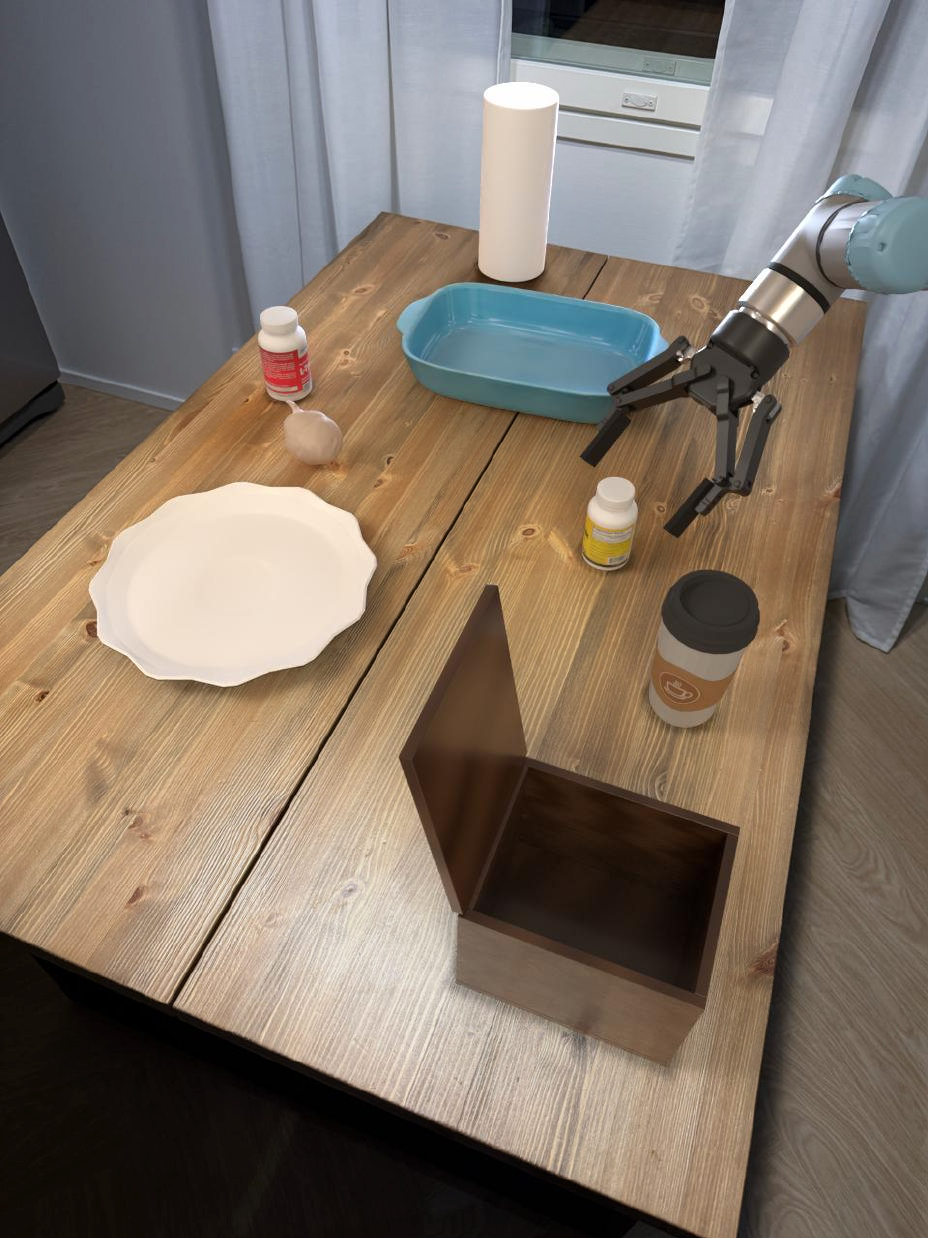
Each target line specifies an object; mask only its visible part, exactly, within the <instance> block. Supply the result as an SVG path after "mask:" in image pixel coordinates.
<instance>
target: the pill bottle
mask: <svg viewBox="0 0 928 1238" xmlns="http://www.w3.org/2000/svg"><path fill="white" fill-rule="evenodd" d="M259 321H260V327H261V329H260V330H259V332H258V335H257V343H258V350H259V354H260V360H261V366H262V372H263V377H264V382H265V388H266V392H267V394H268V395H269V396H270V397H271V398H272V399H274V400H277V401H280V402H288V401H287V400H290V401H293V402H295V401H299V400H302V399H304V398H306V397H307V396H308V395H309V394H310V393H311V391H312V389H313V379H312V372H311V371H312V370H311V365H310V364H311V363H310V357H309V348H308V342H307V335H306V332H305V330H304V329H303V327H301V325H299V317H298V313H297V311H296V310H295V309H293V308H292V307H290V306H283V305H277V306H271V307H268V308H265V309H264V310H263V311H261V313H260V315H259Z"/></svg>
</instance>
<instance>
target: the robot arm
mask: <svg viewBox="0 0 928 1238" xmlns="http://www.w3.org/2000/svg"><path fill="white" fill-rule="evenodd" d="M846 290H859V291H864V292H873V293H875V294H876V295H882V296H888V295H889V296H890V295H907V294H912V293H914V294H915V293H918V292H928V197H925V196H923V195H912V196H904V195H899V196H893V194H892V193H891V192H890V191H889V190H888V189H886V188H885V187H884V186H883V185H882V184H880V183H878V182H877V181H875V180H873V179H872V178H869V177H863V176H861V175H859V174H857V173H847V174H845V175H843V176H840V177H839V178H838V179H837V180H836V181H835V182H834V183H833V184H832V185H831V186H830V187H829V188H828V189H827V191H826V192H825V193H824V194H823V195H822V196H820V197H819V198H818V199H817V200H816V201H815V202H814V205H812V207H811V209H810V211H809V212H808V213H807V215H806V216H805V217H804V218H803V220H802V221H801V222H800V224H799V225H798V226H797V228H796V229H794V231H793V232H792V234H791V235H790V236H789V237H788V239H787V240H786V241H785V242H784V244H783V245H782V246H781V247H780V249H779V250H778V251H777V252H776V254H775V255H774V257H773V258H772V259H771V260H770V261H769V263H768V264H767V265H766V267H765V268H764V269H763V270H762V271H761V273H760V274H759V275H758V276H757V278H756V279H755V280H754V281H753V282H752V284H751V285H750V286H749V287H748V288H747V290H746V291H745V292H744V293H743V295H742V296H741V297H740V298H739V299H738V300H737V305H738V309H739V310H738V309H733V310H730V311H729V312H728V314H727V315H725V317H724V318H723V320H722V321H721V323H720V324H718V326H717V328H716V329H715V330H714V331H713V332H712V333H711V335H710V338H709V340H708V342H707V344H706V345H705V346H704V347H702V348H701V349H699V350H698V349H697V348H696V347H695V346H694V344H693V343H691V341H690V340H689V339H688V338H687V336H685V335H679V336H678V337H676V338H675V340H673V342H672V343H671V344H669V347H668V348H667V349H666V350H665V351H663V352H662V353H660V354H658V355H657V356H655V357H654V358H652V359H650V360H649V361H647V362H645V363H644V364H642V365H640V366H639V367H637V368H635V369H634V370H632V371H630V372H629V373H627V374H625V375H624V376H622V377H620V378H619V379H617V380H615V381H614V382H612V383H610V384H609V385H608V387H607V392H608V393H609V394H610V396H611V398H612V400H613V405H612V407H611V408H610V410H609V411H608V412H607V413H606V415H605V416H604V418H602V420H601V421H600V422H599V423H597V425H596V428H595V430H596V431H597V434H596V435H595V436H594V437H593V438H592V440H591V441H590V442H589V444H588V445H587V446H586V447H585V449H584V450H583V451H582V453H580V455H579V457H578V458H580V459H581V460H582V461H584V462H585V463H586V464H588V465H590V467H592V468H593V469H595V468H596V467H598V464H599V463H601V461H602V460H603V459H604V457H605V456H606V455H607V454H608V452H609V451H610V450H611V449H612V447H613V446H614V445H615V444H616V442H617V441H618V440H619V438H620V437H621V436H622V435H623V434H624V432H625V431H626V429H627V428H628V427H629V426H630V424H632V422H633V420H632V419H631V417H632V414H633V413H637V412H640V411H643V410H645V409H649V408H652V407H655V406H659V405H662V404H665V403H668V402H671V401H674V400H677V399H680V398H682V399H683V398H684V399H686V398H691V399H692V400H693V401H694V402H696V403H697V404H698V405H700V406H703V407H704V408H705V409H707V410H708V411H709V412H710V413H711V414H712V415H713V416H715V418H716V422H717V423H716V438H715V453H714V454H715V455H714V470H713V471H714V475H713V477H711V480H710V479H709V478H707V477H704V478H703V479H702V481H701V482H699V484H698V485H697V486H696V488H695V489H694V490H693V491H692V492H691V494H690V495H689V496H688V497H687V498H686V499H685V501H684V502H683V503H682V504H681V506H680V507H678V509H677V510H676V512H675V513H674V514H673V515H672V516H671V517H670V519H669V520H668V521H667V522H666V523H665V524H664V526H663V527H662V529H663V530H664V531H665V532H667V533H668V534H670V535H671V536H673V537H675V538H676V539H679V538H680V537H681V536H682V535H683V534H684V533H685V532H686V530H687V529H688V528H689V527H690V525H691V524H692V523H693V522H694V521H695V519H696V518H697V517H698V516H699V515H700V516H702V517H703V518H704V517H706V516H708V515H709V514H710V513H712V511H713V510H714V509H715V508H716V506H717V505H718V504H719V503H720V502H721V501H722V499H723V498H724V497H725V496H726V495H728V494H736V495H739V496H741V497H743V498H745V497H746V498H747V497H749V496H750V495H751V493H752V491H753V487H754V484H755V480H756V477H757V474H758V470H759V467H760V463H761V460H762V457H763V454H764V451H765V447H766V444H767V441H768V437H769V435H770V434H769V433H770V430H771V427H772V425H773V424H774V422H775V421H776V419H777V418H778V417H779V415H780V414H781V412H782V410H783V406H782V404H781V403H780V402H779V400H778V399H777V397H776V396H775V395H773V394H771V393H770V394H765V393H763V392H761V391H762V389H763V387H764V386H765V385H766V384H767V383H769V382H770V381H771V380H772V379H773V378H774V376H775V375H776V374H777V373H778V371H780V369H782V367H783V365H785V363H786V362H787V361H788V360H789V358H790V349H796V348H798V347H799V346H800V345H801V344H802V342H804V340H805V339H806V337H807V336H808V335H809V334H810V333H811V332H812V330H814V328H815V327H816V325H817V324H818V323H819V322H820V320H822V319H823V317H824V316H825V315H826V314H827V313H828V311H829V310H830V309H831V308H832V306H833V305H834V304H835V303H836V302H837V300H839V298H840V297H841V296H842V295H843V294H844V293H845V291H846ZM689 363H690V364H689ZM688 364H689V369H687V370H684V371H681V372H678V373H675V374H674V375H672V376H671V377H670V378H667V379H665V380H661V379H662V378H665V377H666V376H667V375H669V374H671V373H672V372H674V371H676V370H677V369H679V368H680V367H681V366H682V365H688ZM659 380H661V381H660V382H657V381H659ZM656 382H657V383H656ZM751 405H752V407H751V408H752V409H751V411H752V415H751V418H750V421H749V424H748V428H747V431H746V434H745V437H744V441H743V444H742V447H741V450H740V454H739V457H738V461H737V464H736V457H737V436H738V428H739V426H740V417H741V416H740V415H741V409H743V408H745V407H749V406H751Z"/></svg>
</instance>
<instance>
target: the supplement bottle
mask: <svg viewBox="0 0 928 1238" xmlns="http://www.w3.org/2000/svg"><path fill="white" fill-rule="evenodd" d="M635 495H636V488H635V486H634V484H633V483H632V482H631V481H630V480H628V479H626V478H624V477H621V476H609V477H605V478H603V479H601V480H600V481H599V482H598V484H597V487H596V491H595V495H594V496H593V497H592V498H591V499H590V500H589V502H588V504H587V510H586V514H585V515H586V516H585V522H584V523H585V524H584V531H583V537H582V545H581V555H582V558H583V560H584V561H585V562H586V564H588V565H589V566H590V567H592V568H594V569H596V570H600V571H609V572H610V571H615V570H618V569H621V568H623V567H624V566H625V565H626V564H627V563H628V561H629V559H630V557H631V550H632V546H633V542H634V541H633V540H634V536H635V530H636V525H637V522H638V521H637V520H638V515H639V508H638V505H637V503H636V501H635V497H636V496H635Z"/></svg>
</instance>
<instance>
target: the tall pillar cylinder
mask: <svg viewBox="0 0 928 1238" xmlns="http://www.w3.org/2000/svg"><path fill="white" fill-rule="evenodd" d="M559 104H560V96H559V94H558V93H557V91H556V90H554V89H552V88H550V87H548V86H546V85H543V84H542V85H541V84H538V83H531V82H521V81H519V82H516V81H515V82H505V83H499V84H496V85H492V86H491V87H488V88H487V89H486V90H485V91H484V93H483V97H482V124H481V125H482V127H481V128H482V129H481V160H480V193H479V225H478V226H479V230H478V259H477V261H478V263H477V265H478V269H479V271H480V272H481V273H482V274H483V275H485V276H487V277H489V278H490V279H493V280H496V281H501V282H506V283H507V282H509V283H520V282H526V281H530V280H533V279H535V278H537V277H539V276H540V275H541V274H542V273H543V272H544V270H545V265H546V253H547V244H548V243H547V241H548V230H549V219H550V207H551V197H552V187H553V186H552V185H553V174H554V163H555V150H556V141H557V127H558V117H559V107H560V105H559Z"/></svg>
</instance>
